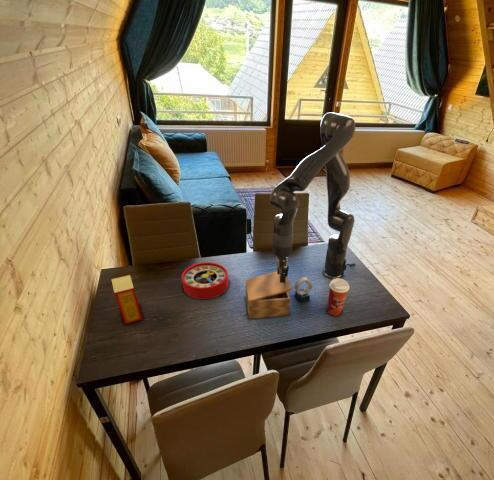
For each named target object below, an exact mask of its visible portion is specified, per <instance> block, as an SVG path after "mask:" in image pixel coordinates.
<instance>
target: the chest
mask: <svg viewBox="0 0 494 480" xmlns="http://www.w3.org/2000/svg"><path fill="white" fill-rule="evenodd" d="M245 301H246V308H247V314H248V319H249V320H251V319H252V320H253V319H261V318H263V319H264V318H272V317H283V316H290V309H291V295H290V293H289V291H287V292H284V293H280V294H276V295H273V296H269V297H266V298H262V299H259V300H255V301H252V302H249V300H248V294H247V287H246V286H245Z"/></svg>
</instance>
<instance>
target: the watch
mask: <svg viewBox="0 0 494 480" xmlns="http://www.w3.org/2000/svg"><path fill="white" fill-rule="evenodd" d="M304 282H305V284H306V285H307V287H306V288H300V289H299V286H300V285H301V284H302V283H304ZM313 287H314V285H313V283H312V282H311V280H310V279H309V278H308V277H307V276H303V277H300V278H299V279H297V281H296V282H295V284H294V297H295V299H296V300H297V301H298V302H299V303H300V304H304V303H307V302H310V299H311V298H310V297H311V295H310V294H309V293H310V292H311V290H312V289H313Z"/></svg>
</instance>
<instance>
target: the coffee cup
mask: <svg viewBox="0 0 494 480" xmlns="http://www.w3.org/2000/svg"><path fill="white" fill-rule="evenodd" d="M328 286H329V291H328V299H327V300H328V301H327V313H328V314H329V315H330V316H335V317H337V316H339V315H341V314H342V311H343V308H344V305H345V302H346V299H347V295H348V291H350V284H349V282H348V281H347V280H345V279H344V278H341V277H340V278H336V279H332V280H331V281H330V282H329V284H328Z"/></svg>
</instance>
